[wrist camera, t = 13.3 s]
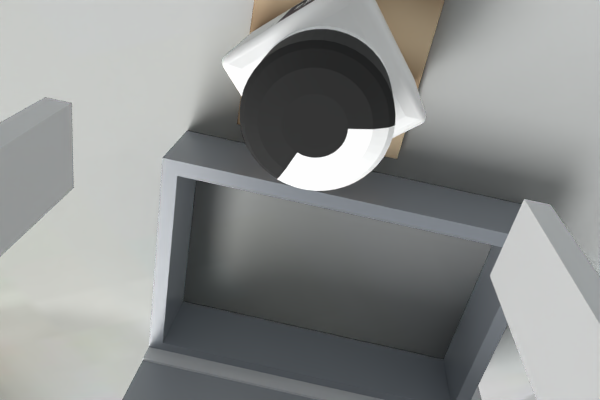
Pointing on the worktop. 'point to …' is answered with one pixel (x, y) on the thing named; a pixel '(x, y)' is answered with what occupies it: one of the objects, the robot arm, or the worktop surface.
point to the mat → (402, 23)
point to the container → (323, 92)
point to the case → (299, 341)
